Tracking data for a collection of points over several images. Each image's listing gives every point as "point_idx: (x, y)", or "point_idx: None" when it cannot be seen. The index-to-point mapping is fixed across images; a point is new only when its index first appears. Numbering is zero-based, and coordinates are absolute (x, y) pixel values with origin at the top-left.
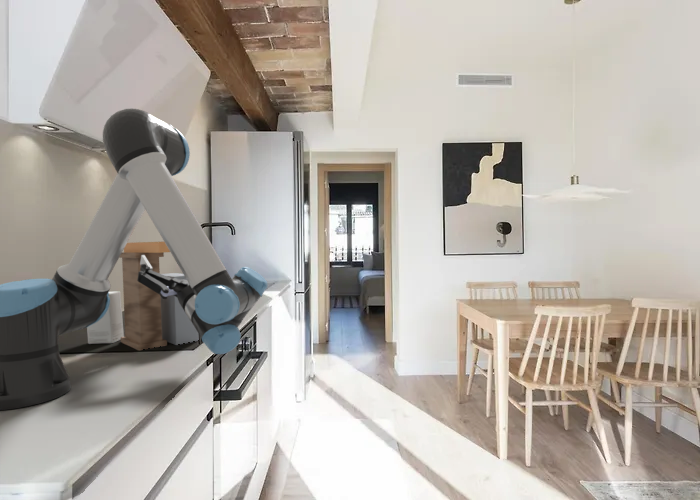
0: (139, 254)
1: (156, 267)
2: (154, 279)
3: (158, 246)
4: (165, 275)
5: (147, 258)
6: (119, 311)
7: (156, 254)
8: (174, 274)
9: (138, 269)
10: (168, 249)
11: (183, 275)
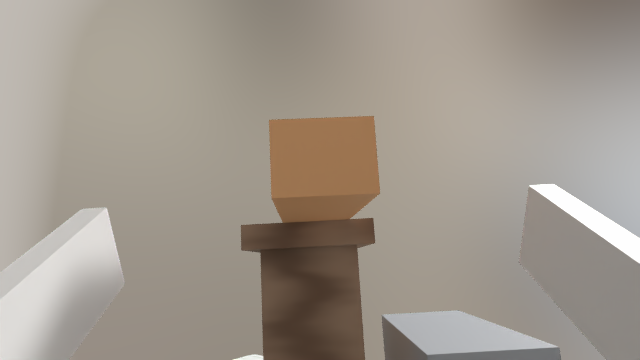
0: (260, 232)
1: (346, 296)
2: None
3: (270, 156)
4: (406, 329)
5: (303, 252)
6: None
7: (339, 231)
8: (448, 323)
9: (263, 305)
10: (339, 174)
11: (483, 343)
